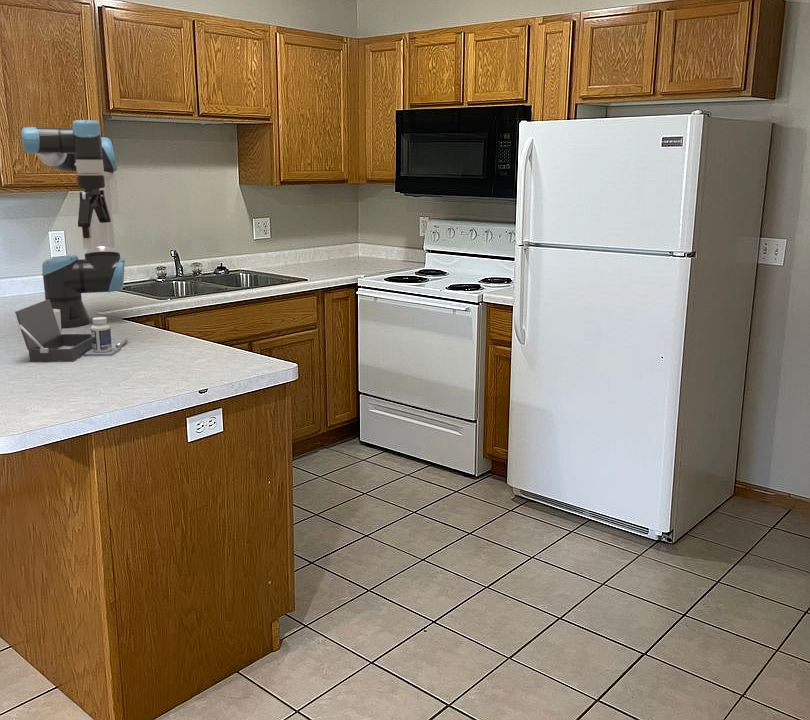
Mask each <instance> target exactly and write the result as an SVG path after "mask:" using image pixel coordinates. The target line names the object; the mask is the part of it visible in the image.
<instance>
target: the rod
mask: <svg viewBox="0 0 810 720" xmlns="http://www.w3.org/2000/svg"><path fill="white" fill-rule="evenodd" d="M128 342H129V340H128V339H127V338H126V339H124V340H122V341H120V342H118V343H117V344H116V345H115V348H121V347H123V346H124V345H126V344H127V343H128Z"/></svg>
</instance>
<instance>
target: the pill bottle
mask: <svg viewBox="0 0 810 720" xmlns="http://www.w3.org/2000/svg"><path fill="white" fill-rule="evenodd" d="M91 319H92V325H91V327H90V334H91V338H92V348H93V351H94V352H108V351H111V350H112V348H113V344H112V335H111V333H112V332H111V326H110V324H107V323H108V318H107V317H106V316H97V317H92V318H91Z"/></svg>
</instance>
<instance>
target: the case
mask: <svg viewBox="0 0 810 720" xmlns="http://www.w3.org/2000/svg"><path fill="white" fill-rule="evenodd" d="M14 314H15V317H16V319H17V323H18V327H19V329H20V331H21V334H22V337H23V340H24V343H25V347H26V349H27V351H28V354H29V355H28V356H29V362H30V363H37V362H41V363H43V362H44V363H45V362H47V363H48V362H49V363H50V362H53V363H54V362H55V363H56V362H58V363H59V362H71V363H72V362H74V361H76V360H78V359H80V358H81V357H84V354H85V353H86V352H88V351H90V350H91V349H93V348H92V338H91V333H63V334H62V332H61V333H60V330H59V327H58V324H57V321H56V318H55V315H54V312H53V308H52V305H51V302H50V299H48V300H45V299H44V300H42V301H41V302H37V303H35V304H32V305H29V306H27V307H24V308H22V309H19V310H17V311H14ZM61 347H70V348H61Z"/></svg>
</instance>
